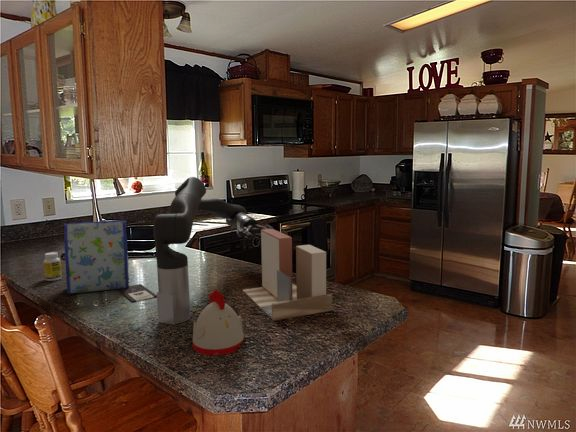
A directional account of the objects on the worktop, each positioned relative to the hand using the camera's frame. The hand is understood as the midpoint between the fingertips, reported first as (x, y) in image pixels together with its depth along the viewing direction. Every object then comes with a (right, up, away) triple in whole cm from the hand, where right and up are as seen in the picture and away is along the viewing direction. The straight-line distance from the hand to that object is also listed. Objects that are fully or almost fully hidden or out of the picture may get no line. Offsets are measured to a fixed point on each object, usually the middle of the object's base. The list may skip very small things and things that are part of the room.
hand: (261, 235), depth 167 cm
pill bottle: (-88, -19, +12) cm, 90 cm away
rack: (+9, -22, -19) cm, 30 cm away
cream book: (+18, -22, -24) cm, 37 cm away
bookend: (+7, -23, -30) cm, 39 cm away
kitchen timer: (-9, -27, -50) cm, 58 cm away
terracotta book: (+6, -20, -13) cm, 25 cm away
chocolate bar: (-46, -22, -8) cm, 51 cm away
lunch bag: (-63, -20, 0) cm, 66 cm away
